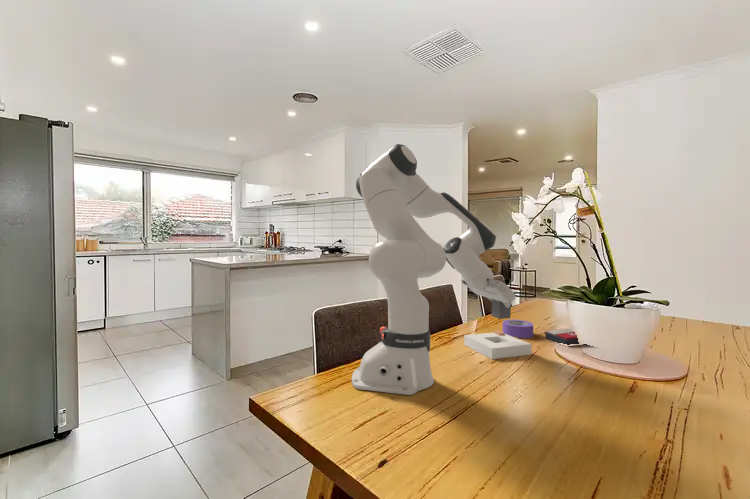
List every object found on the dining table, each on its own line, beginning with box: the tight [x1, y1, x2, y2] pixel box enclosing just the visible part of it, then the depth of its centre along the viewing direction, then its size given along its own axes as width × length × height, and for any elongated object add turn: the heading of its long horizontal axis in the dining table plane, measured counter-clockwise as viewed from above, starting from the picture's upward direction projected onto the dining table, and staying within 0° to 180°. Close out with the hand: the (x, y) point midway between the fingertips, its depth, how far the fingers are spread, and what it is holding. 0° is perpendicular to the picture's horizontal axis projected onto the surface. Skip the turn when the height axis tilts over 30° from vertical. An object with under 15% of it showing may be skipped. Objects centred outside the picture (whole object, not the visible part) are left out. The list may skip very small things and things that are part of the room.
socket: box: [463, 330, 532, 360], centre depth 123 cm, size 16×16×4 cm
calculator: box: [544, 327, 579, 345], centre depth 134 cm, size 11×4×15 cm
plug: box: [490, 299, 512, 320], centre depth 122 cm, size 4×4×8 cm
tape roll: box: [502, 319, 534, 339], centre depth 143 cm, size 12×12×5 cm
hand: (502, 304), depth 122 cm, fingers closed on plug, 4 cm apart
